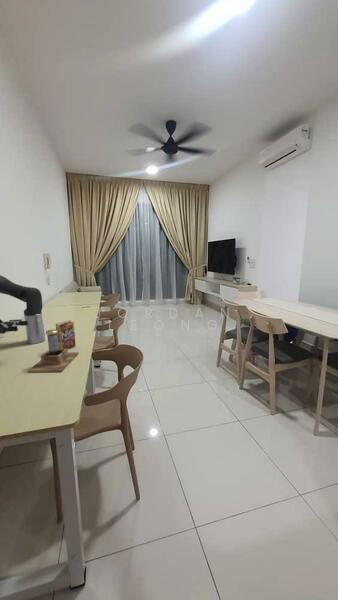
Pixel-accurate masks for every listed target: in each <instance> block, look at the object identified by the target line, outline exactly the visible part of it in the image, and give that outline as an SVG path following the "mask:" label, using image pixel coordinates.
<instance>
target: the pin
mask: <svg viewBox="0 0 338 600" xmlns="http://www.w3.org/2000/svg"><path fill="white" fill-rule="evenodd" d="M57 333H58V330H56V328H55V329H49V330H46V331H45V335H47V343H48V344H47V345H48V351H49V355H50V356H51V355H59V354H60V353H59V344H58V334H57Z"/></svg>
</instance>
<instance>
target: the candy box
mask: <svg viewBox="0 0 338 600" xmlns="http://www.w3.org/2000/svg"><path fill="white" fill-rule="evenodd" d="M55 329H56V330H58V333H57V334H58V344H59V349H67V350H69V349H73V348H75V347H76V346H77V345H76V333H75V321H74V320H71V319H70V320H67V321H62V322H58V323H55Z"/></svg>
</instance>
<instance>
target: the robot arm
mask: <svg viewBox="0 0 338 600" xmlns="http://www.w3.org/2000/svg"><path fill="white" fill-rule="evenodd" d="M0 294H2V295H8V296H10V297H13V298H15V299H17V300H19V301H22V302H24V303H26V308H25V309H24V310H23V315H24V320H22V319H9V320H5V321H3V320H2V319H1V318H0V334H1V335H2V334H3V335H4V334H6V333H9V332H18V331H19V328H18V327H21V326H22V327H23V326H25V331H26V332H25V333H26V338H27V339H26V340H27V343H28V344H30V345H34V344H40V343H42V342H44V341H46V336H45V335H46V332H45V325H44V322H43V320H44V319H43V313H42V311H43V296H42V295H43V294H42V293H41V290H40V289H38V288H37V287H32V286H31V287H30V286H25V285H24V286H23V285H21V284H17V283H15V282H13V281H11V280H10V279H8V278H7V277H5V276H3V275H1V274H0Z"/></svg>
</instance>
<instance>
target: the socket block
mask: <svg viewBox="0 0 338 600" xmlns="http://www.w3.org/2000/svg"><path fill="white" fill-rule="evenodd" d="M68 350H69V349H59V353H60V354H59V355H51V356H50V355H49V350H47V351H45V353H43V354H42V355H41V356H40V360H39V361H38V362H37V363H36V364H34V365H33V366H32V367H30V368H29V369H28V373H63V371H65V369H66V368H67V367H68V366H69V365H70V364H71V363H72V362H73V360H74V359H76V357H77V356H78V355H79V354H80V352H78V351H72V352H71V351H68Z"/></svg>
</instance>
